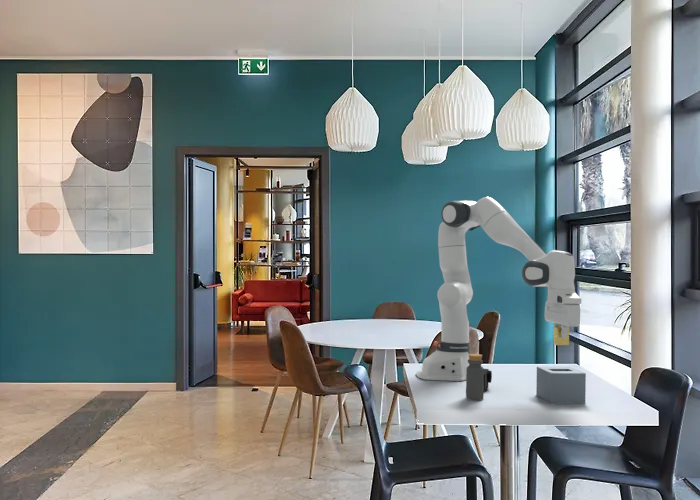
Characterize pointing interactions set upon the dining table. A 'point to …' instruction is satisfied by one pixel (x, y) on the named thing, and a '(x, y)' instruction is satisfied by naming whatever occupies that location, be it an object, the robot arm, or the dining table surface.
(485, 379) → the digital camera
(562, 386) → the box
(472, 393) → the bottle
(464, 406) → the dining table surface
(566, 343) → the block
